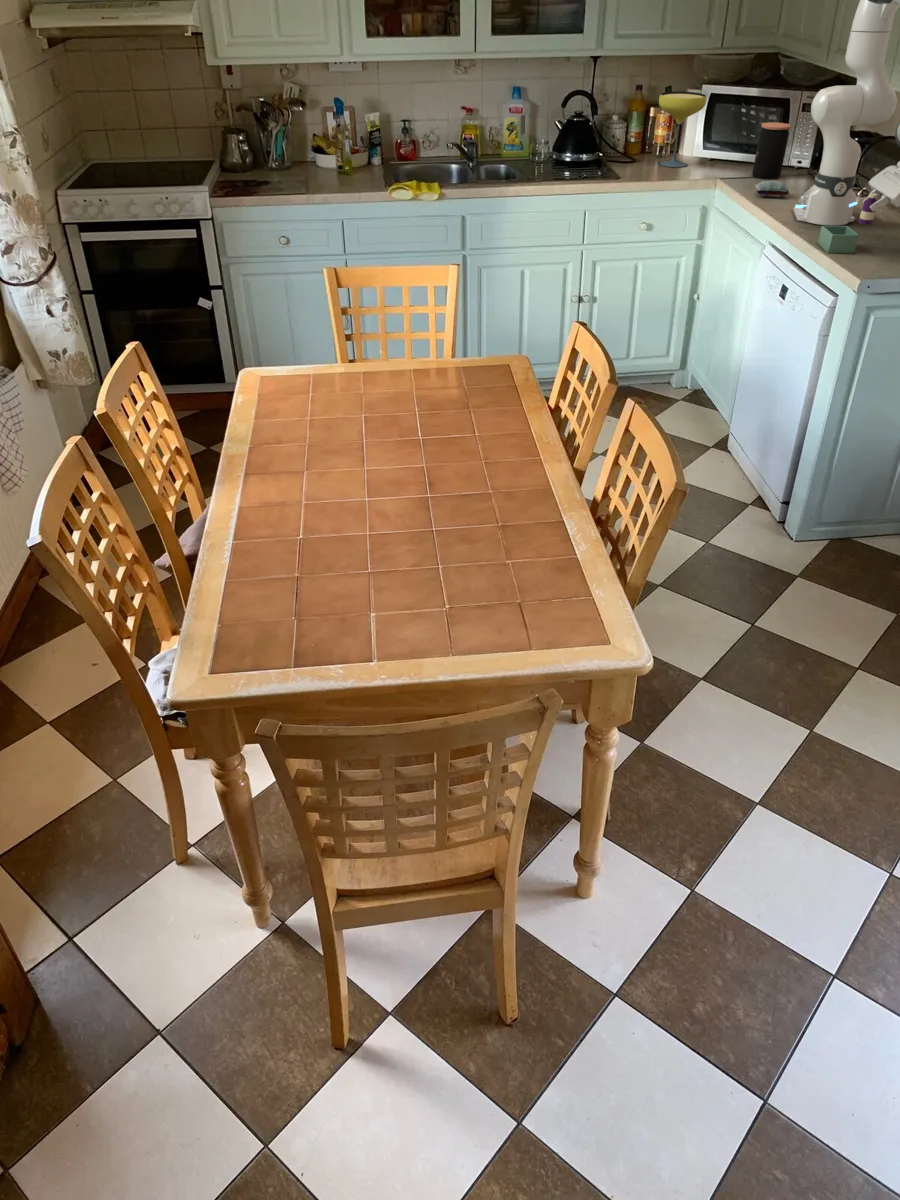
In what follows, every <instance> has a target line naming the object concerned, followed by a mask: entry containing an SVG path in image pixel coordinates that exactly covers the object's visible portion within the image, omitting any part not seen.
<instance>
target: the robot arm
mask: <svg viewBox="0 0 900 1200" xmlns="http://www.w3.org/2000/svg"><path fill="white" fill-rule="evenodd" d="M898 9H900V0H859V2H858V5H857V8H856V10H855V14H854V17H853V21H852V24H851V27H850V28H851V29H850V33H849V38H848V42H847V47H846V51H845V56H844V60H845V63H846V66H847V67H848V68H849V69H850V70H852V71H853V72H855V75H856V84H851V85H849V84H847V85H846V84H845V85H844V84H843V85H833V86H828V87H824V88H822V89H821V88H820V89H819V91H818V92H817V93H816V94H815V96H814V97H813V99H812V101H811V105H810V115H811V119H812V120H813V123H815V124H816V125H817V126H818V128H819V130H820V132H821V134H822V139H823V149H822V156H821V161H820V164H819V165H818V166H816V167H817V168H819V170H818V172H817V174H816V175H815V174H814V173H813V172H812V170H813V168H814V167H812V166H811V167H812V168H811V167H810V168H809V169H808V173H809V174H810V176H811V177H812V178H814V181H813V185H812V186H811V187H810V188H808V189H807V190H806V191H805V192H804V193H803V195H800V196H799V201H798V203H799V204H795V206H793V208H792V211H793V214H794V217H795V219H796V221H799V222H804V223H805V222H806V223H810V224H815V225H819V226H820V225H821V226H845V225H847V224H849V223H852V222H854V221H856V217H855V216H853V211H854V206H856V205H857V204H858V201H856V196H857V195H856V194H857V193H855V192H854V190H853V189H854V187H855V183H856V179H857V169H858V165H859V162H860V158H861V153H862V149H861V148H862V147H861V146H860V144H859V143H858V142H857V141H856V140H855V139H853V138H852V137H851V127H854V126H855V127H857V126H858V127H859V126H860V127H861V126H873V125H874V126H875V125H878V124H882V123H885V122H887V121H889V120H890V119H891V118H892V116H893V114H894V112H895V110H896V108H897V104H898V97H897V93H896V91H895V89H894V88H893V87H892V85H890V83H889V81H888V79H887V74H886V65H885V64H886V56H887V50H888V46H889V41H890V37H891V33H892V32H891V31H892V28H893V23H894V18H895V15H896V13H897V11H898ZM894 138H895V142H896V144H897V146H898V147H899V148H900V120H899V122H898V123H897V126H896V128H895V133H894ZM868 186H869V187H870V189H871V190H872V191H870V193H874V194H877V197H876V199H877V198H879V197H880V198H879V199H878V200H877V201H876V202H873V203H872V204H871V205H870V206H869V208H870V209H871V210H872V211H875V210H876V211H877V210H878V209H879V208H882V207H885V206H886V205H887V204H889V203H890V204H891V205H893V206H894V207H896V208H899V207H900V160H899V161H898V162H897V163H896V164H895V165H888V166H886V167H885V168H883V170H881V171H880V172H878V173H876V175H874V176H872V178H870V179H869V181H868ZM867 199H869V195H867V197H866V198H865V199H864V200H862V205H863V204H864V201H865V200H867Z"/></svg>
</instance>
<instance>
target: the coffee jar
mask: <svg viewBox="0 0 900 1200" xmlns="http://www.w3.org/2000/svg"><path fill="white" fill-rule="evenodd" d="M791 127H792V125H791V124H790V123H785V122H776V121H774V122H773V121H770V122H769V121H768V122H762V123H761V130H760V131H759V136H758V142H757V146H756V151H755V152H756V153H755V157H754V162H753V163H754V164H753V167H752V175H753V177H754V178H757V179H761V180H775V179H776V180H777V179H778V178H779V177H780V176H781V174H782V170H783V166H784V161H785V155H786V151H787V146H788V141H789V137H790V129H791Z"/></svg>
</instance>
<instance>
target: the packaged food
mask: <svg viewBox="0 0 900 1200" xmlns="http://www.w3.org/2000/svg"><path fill="white" fill-rule="evenodd" d="M754 187H755V188H756V191H755V193H757V194H758V195H759V196H761V197H764V198H765V197H767V198H782V197H785V196H788V195H789V196H790V195H791V193H790V191H789V187H787V185H786V183H785V182H783V181H778V180H763V181H762V180H761V181H760V182H759V183H758V184H756V183H755V184H754Z"/></svg>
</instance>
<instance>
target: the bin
mask: <svg viewBox="0 0 900 1200" xmlns="http://www.w3.org/2000/svg"><path fill="white" fill-rule="evenodd" d="M859 237H860V234H858V233H857V232H855V231H854V230H853V229H852V228H850V227H849V226H848V225H821V227H820V231H819V234H818V239H817V245H818V246H819V247H821V248H822V249H823V250H824V251H825V252H826V253H828V254H855V251H856V248H857V244H858V240H859Z"/></svg>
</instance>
